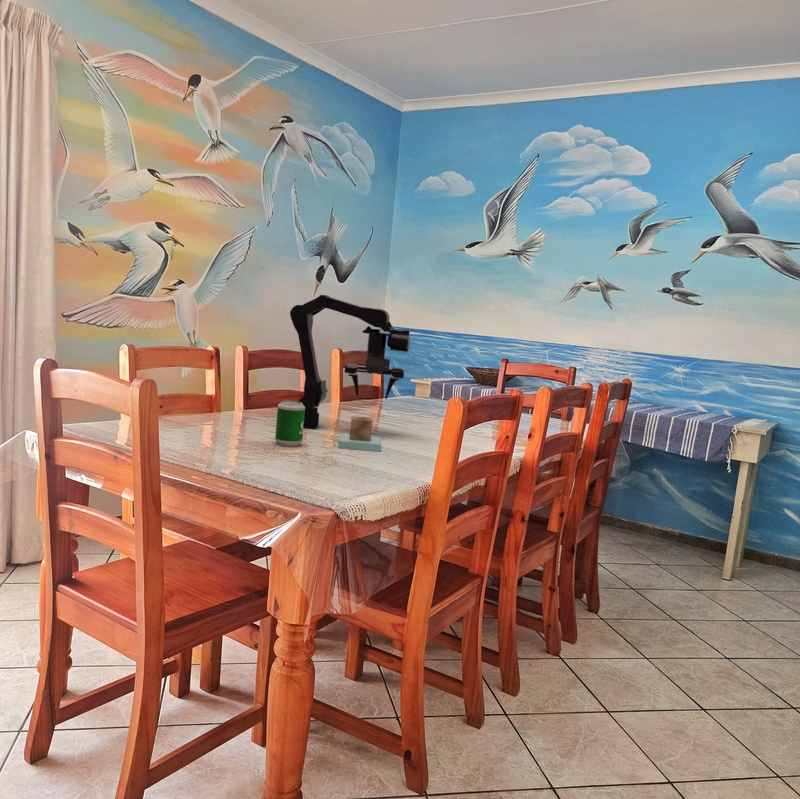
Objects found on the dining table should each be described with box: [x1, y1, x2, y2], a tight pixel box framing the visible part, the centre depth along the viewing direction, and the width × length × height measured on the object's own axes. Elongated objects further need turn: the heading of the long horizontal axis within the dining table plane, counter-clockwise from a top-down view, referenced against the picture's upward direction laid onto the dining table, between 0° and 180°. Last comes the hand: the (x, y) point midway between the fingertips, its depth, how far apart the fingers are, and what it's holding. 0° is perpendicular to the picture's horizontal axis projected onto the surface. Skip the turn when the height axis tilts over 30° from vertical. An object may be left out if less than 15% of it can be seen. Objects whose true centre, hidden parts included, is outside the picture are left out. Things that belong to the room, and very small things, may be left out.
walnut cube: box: [349, 415, 373, 442], centre depth 202 cm, size 6×6×6 cm
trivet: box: [337, 433, 382, 453], centre depth 203 cm, size 12×12×2 cm
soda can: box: [274, 400, 305, 448], centre depth 194 cm, size 8×8×12 cm
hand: (371, 397), depth 221 cm, fingers open, 9 cm apart
